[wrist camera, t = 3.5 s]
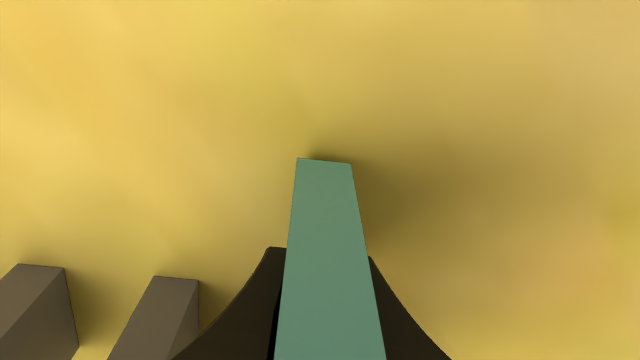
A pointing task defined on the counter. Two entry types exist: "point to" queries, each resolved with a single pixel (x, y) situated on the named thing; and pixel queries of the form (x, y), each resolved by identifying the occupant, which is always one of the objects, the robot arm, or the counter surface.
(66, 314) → the domino
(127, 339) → the domino
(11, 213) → the counter surface
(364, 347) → the teal domino
